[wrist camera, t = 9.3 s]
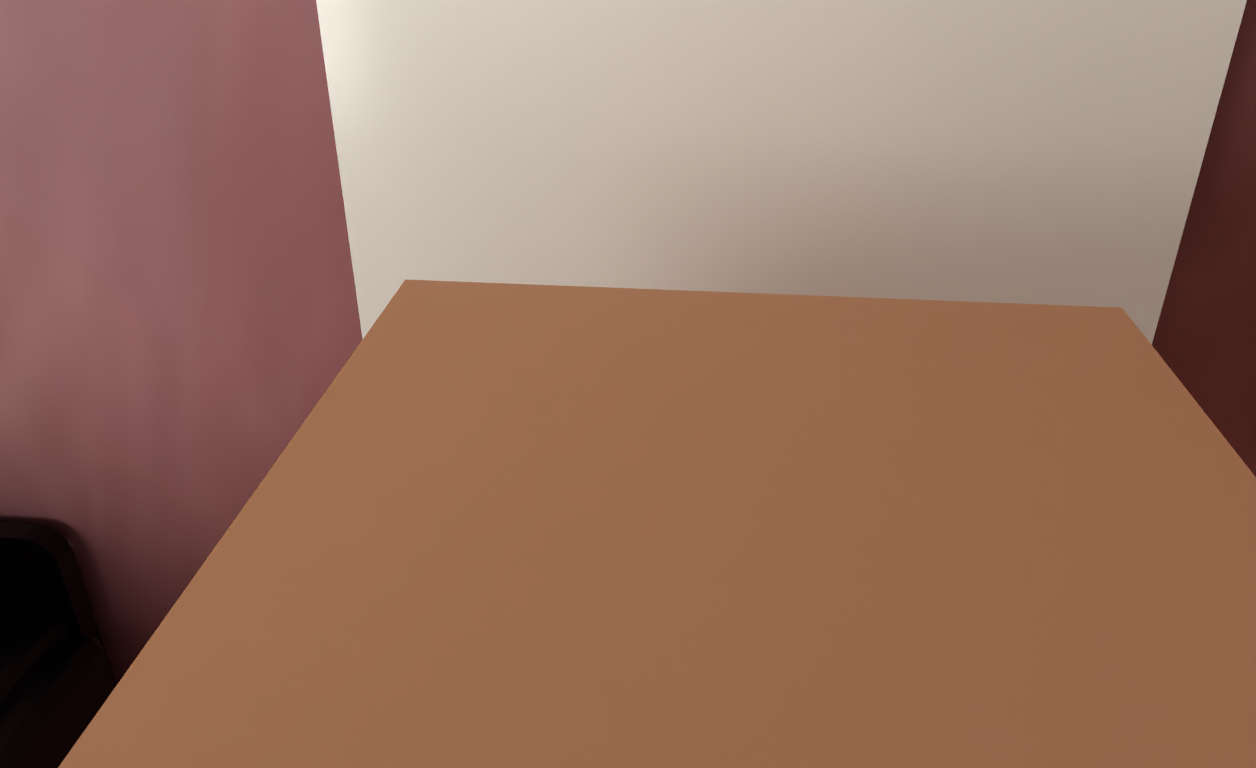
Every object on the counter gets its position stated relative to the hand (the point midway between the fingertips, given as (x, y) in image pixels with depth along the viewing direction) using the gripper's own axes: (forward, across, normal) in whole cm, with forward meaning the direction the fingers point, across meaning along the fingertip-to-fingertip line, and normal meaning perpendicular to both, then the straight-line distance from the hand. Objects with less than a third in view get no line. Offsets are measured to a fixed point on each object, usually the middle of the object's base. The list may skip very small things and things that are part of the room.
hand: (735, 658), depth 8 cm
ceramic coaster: (+7, 0, 0) cm, 7 cm away
